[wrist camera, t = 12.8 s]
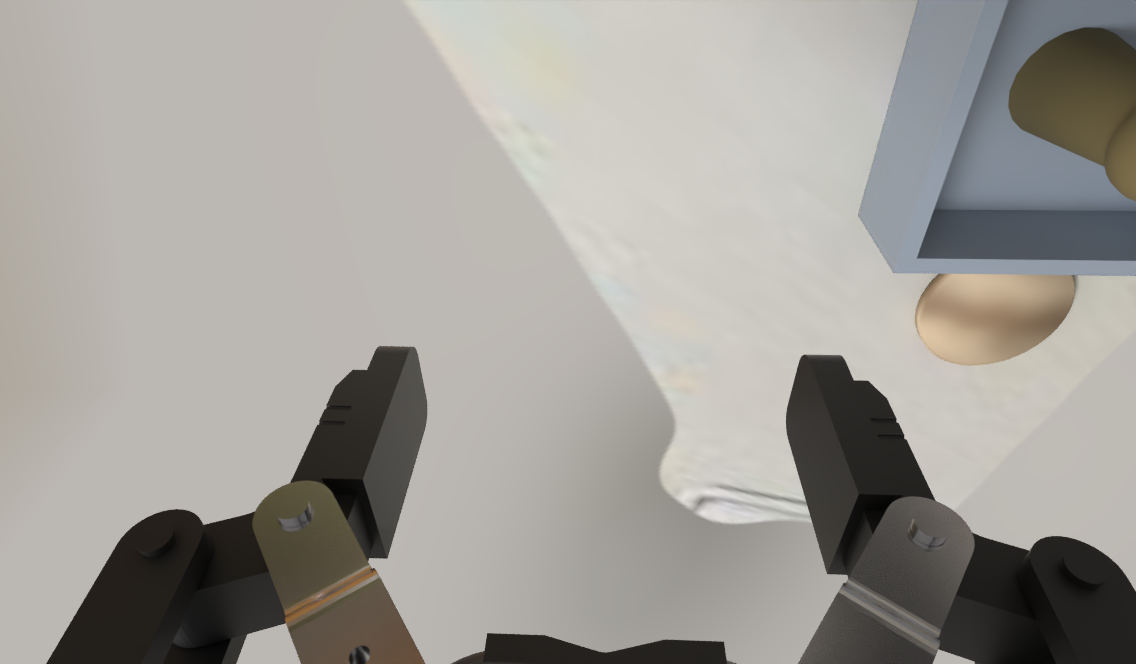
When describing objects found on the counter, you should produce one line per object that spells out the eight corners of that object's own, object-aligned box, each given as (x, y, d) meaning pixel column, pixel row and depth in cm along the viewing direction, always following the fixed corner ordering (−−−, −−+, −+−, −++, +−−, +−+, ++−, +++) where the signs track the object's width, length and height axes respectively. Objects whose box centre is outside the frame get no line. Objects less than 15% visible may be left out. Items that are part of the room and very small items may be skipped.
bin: (948, -108, 34) (1016, -91, 28) (1326, -113, 33) (1473, -96, 27) (858, 215, 45) (893, 273, 39) (1139, 217, 44) (1216, 276, 38)
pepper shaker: (1153, 61, 37) (1320, 140, 28) (1057, 153, 40) (1180, 247, 32) (1077, 5, 35) (1230, 68, 27) (984, 105, 39) (1093, 190, 30)
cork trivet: (940, 242, 46) (946, 250, 45) (1093, 244, 45) (1101, 251, 44) (898, 355, 52) (902, 364, 51) (1032, 357, 51) (1038, 366, 50)
